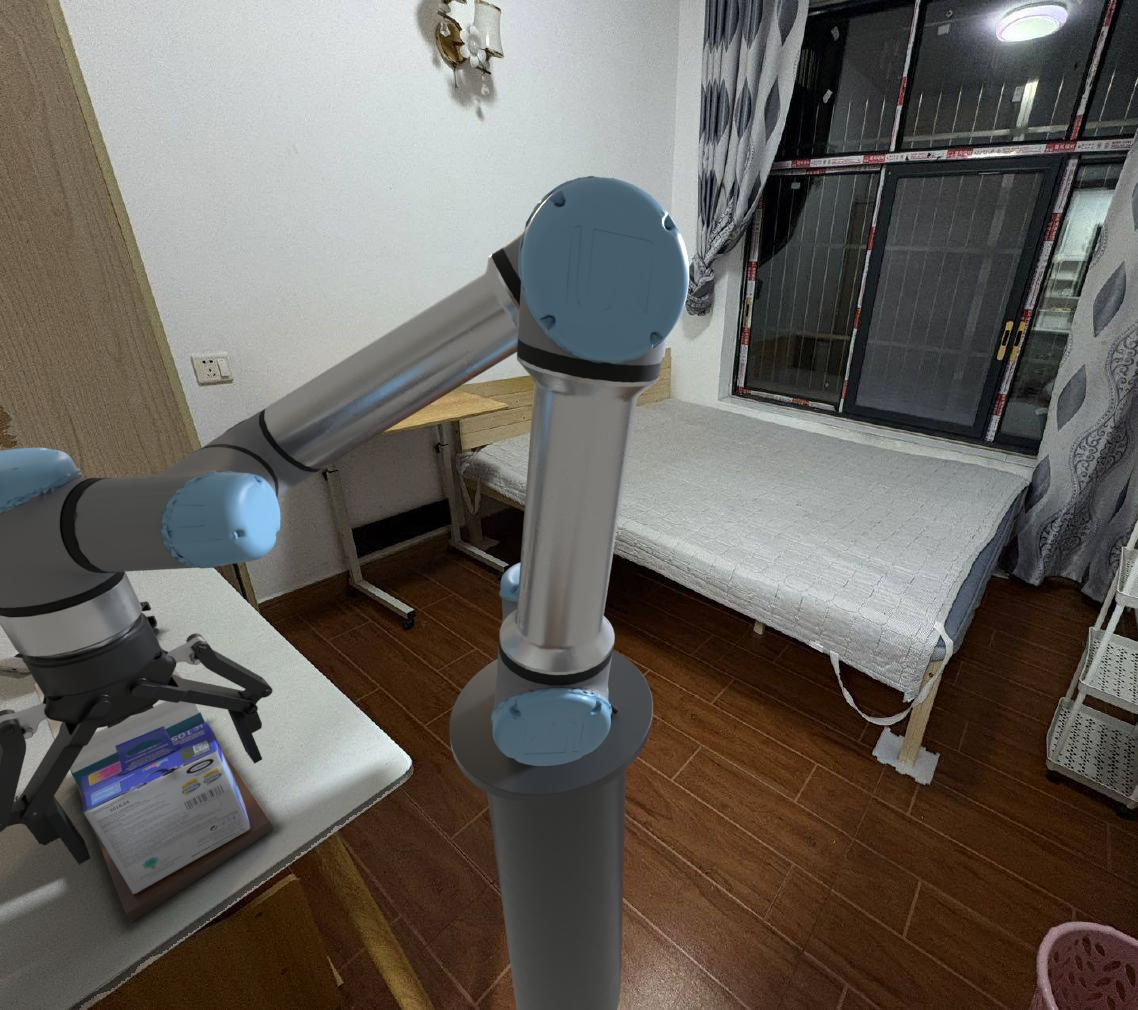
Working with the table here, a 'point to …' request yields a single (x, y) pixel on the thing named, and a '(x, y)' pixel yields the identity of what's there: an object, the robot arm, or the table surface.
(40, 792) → the robot arm
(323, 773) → the table surface
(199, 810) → the ink cartridge box
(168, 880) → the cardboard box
